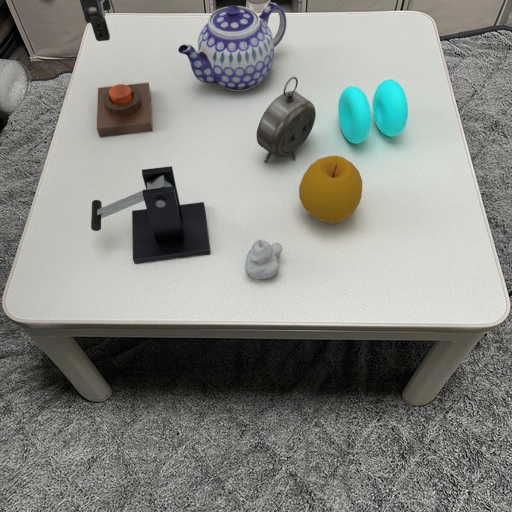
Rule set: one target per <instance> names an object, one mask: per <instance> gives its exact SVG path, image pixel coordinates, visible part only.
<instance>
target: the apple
mask: <svg viewBox="0 0 512 512" xmlns="http://www.w3.org/2000/svg"><path fill="white" fill-rule="evenodd" d="M362 193H363V178H362V176H361V174H360V170H359V169H358V168H357V167H356V166H355V165H354V163H352V162H351V161H350V160H348V159H347V158H345V157H343V156H339V155H328V156H325V157H322V158H319V159H316V161H314V162H313V163H311V164H310V165H309V167H308V168H307V169H306V171H305V172H304V174H303V176H302V178H301V180H300V183H299V186H298V195H299V200H300V203H301V205H302V206H303V208H304V209H305V210H306V212H307V213H309V214H310V215H311V216H313V217H314V218H315V219H317V220H318V221H321V222H322V223H326V224H338V223H341V222H343V221H345V220H346V219H348V218H349V217H351V216H352V215H353V214H354V212H355V211H356V210H357V208H358V207H359V205H360V203H361V200H362Z"/></svg>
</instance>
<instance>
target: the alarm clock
mask: <svg viewBox="0 0 512 512" xmlns="http://www.w3.org/2000/svg"><path fill="white" fill-rule="evenodd" d="M292 80H295V86H294V89H292V90H289V91H286V90H287V87H288V85H289V84H290V82H291V81H292ZM298 84H299V81H298V77H296V76H291V77H290V78H289V79H288V80H287V81H286V83H285V84H284V88H283V93H282V94H280V95H279V96H277V97H276V98H275V99H273V101H272V102H271V103H269V105H268V106H267V108H265V110H264V112H263V114H262V116H261V118H260V120H259V123H258V126H257V129H256V142H257V144H258V146H260V148H262V149H264V150H265V151H267V154H266V157H265V159H264V161H263V162H264V164H268V162H269V160H270V158H271V157H272V156H273V157H274V158H277V159H283V158H287V157H289V156H291V157H292V160H293V161H296V160H297V157H296V151H297V150H298V149H300V147H302V146H303V145H304V143H305V142H306V140H307V139H308V138H309V135H310V134H311V133H312V130H313V127H314V125H315V121H316V116H317V113H316V108H315V106H314V103H313V102H312V101H310V100H309V99H307V98H306V97H304V96H302V95H301V94H300V93H298V92H297V91H296V90H297V88H298Z"/></svg>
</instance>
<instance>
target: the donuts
mask: <svg viewBox="0 0 512 512" xmlns="http://www.w3.org/2000/svg"><path fill="white" fill-rule="evenodd" d="M373 94H374V95H373V96H372V97H373V98H372V112H371V105H370V102H369V99H368V97H367V95H366V94H365V92H364V91H363V90H362V89H361V88H359V87H357V86H352V85H351V86H348V87H345V88H344V89H343V90H342V91H341V93H340V95H339V99H338V105H337V107H338V108H337V113H338V122H339V125H340V128H341V129H340V130H341V132H342V134H343V136H344V137H345V139H346V140H347V141H348V142H349V143H352V144H360V143H362V142H364V141H365V140H366V139H367V137H368V135H369V134H370V130H371V126H372V114H373V119H374V122H375V124H376V126H377V128H378V130H379V131H380V132H381V133H382V134H383V135H385V136H387V137H396V136H399V135H400V134H401V133H402V132H403V131H404V129H405V128H406V125H407V121H408V115H409V107H408V99H407V96H406V92H405V90H404V88H403V87H402V85H401V84H400V83H399V82H398V81H396V80H394V79H386V80H383V81H382V82H380V83H379V84H378V86H377V87H376V89H375V91H374V93H373Z"/></svg>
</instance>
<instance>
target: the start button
mask: <svg viewBox="0 0 512 512" xmlns="http://www.w3.org/2000/svg"><path fill="white" fill-rule="evenodd" d="M127 85H128V84H123V83H121V84H120V83H119V84H116V85H115V84H114V85H113V87H112V88H111V89H110V90H109V94H110V98H111V101H112V103H114V104H116V105H124V104H127V103H129V102H130V101H131V100H132V93H131V89H130V87H129V86H127Z"/></svg>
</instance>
